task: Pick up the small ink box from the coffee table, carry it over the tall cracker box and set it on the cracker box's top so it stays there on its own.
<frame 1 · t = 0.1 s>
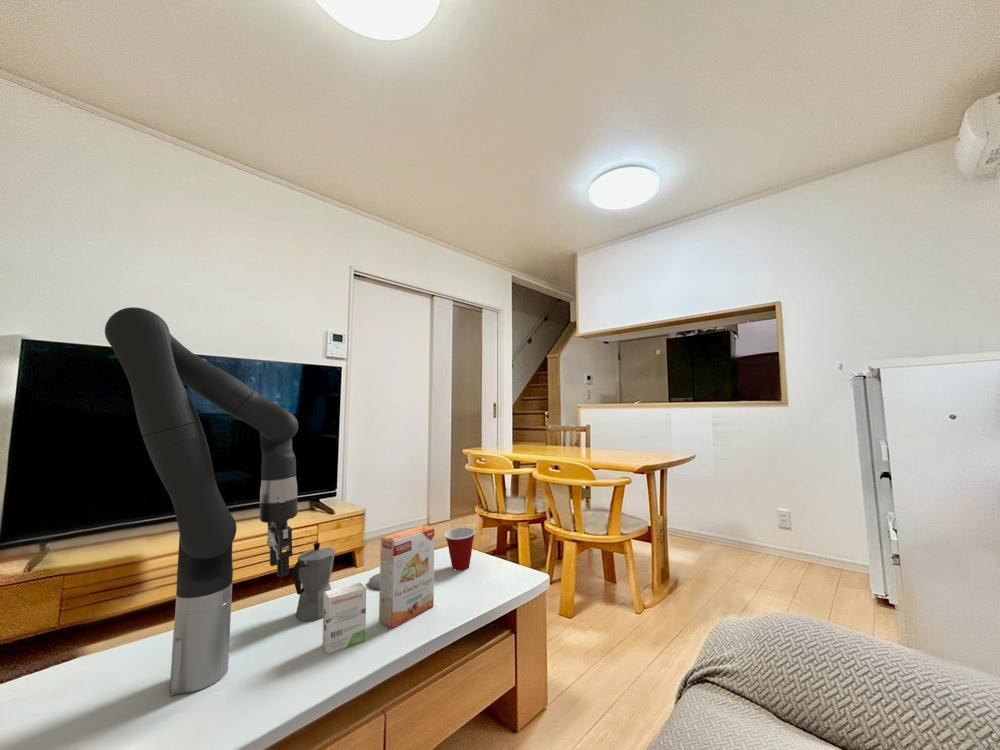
hand: (279, 570, 88), 17 cm above the table, tool pointing down, fingers open, 8 cm apart
cracker box: (407, 615, 102), on the table
coffeepot: (312, 615, 102), on the table
glossy grey dome: (388, 581, 122), on the table
plastic cup: (460, 568, 132), on the table
ink box: (344, 644, 89), on the table
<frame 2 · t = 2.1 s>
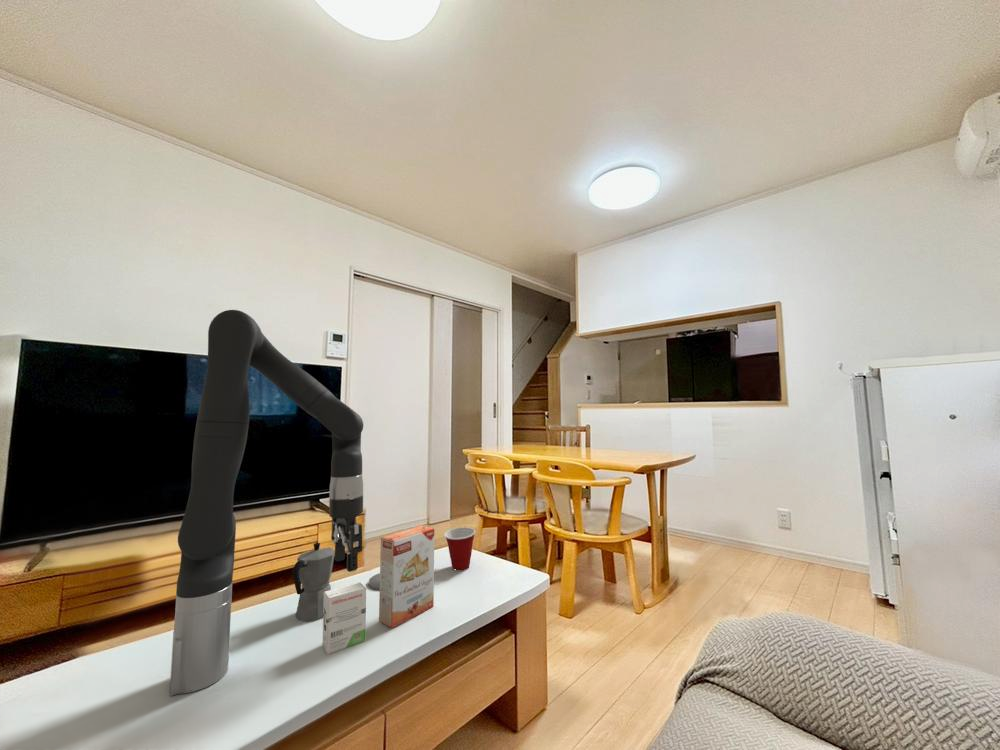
hand: (345, 565, 91), 17 cm above the table, tool pointing down, fingers open, 8 cm apart
nothing on the table moved.
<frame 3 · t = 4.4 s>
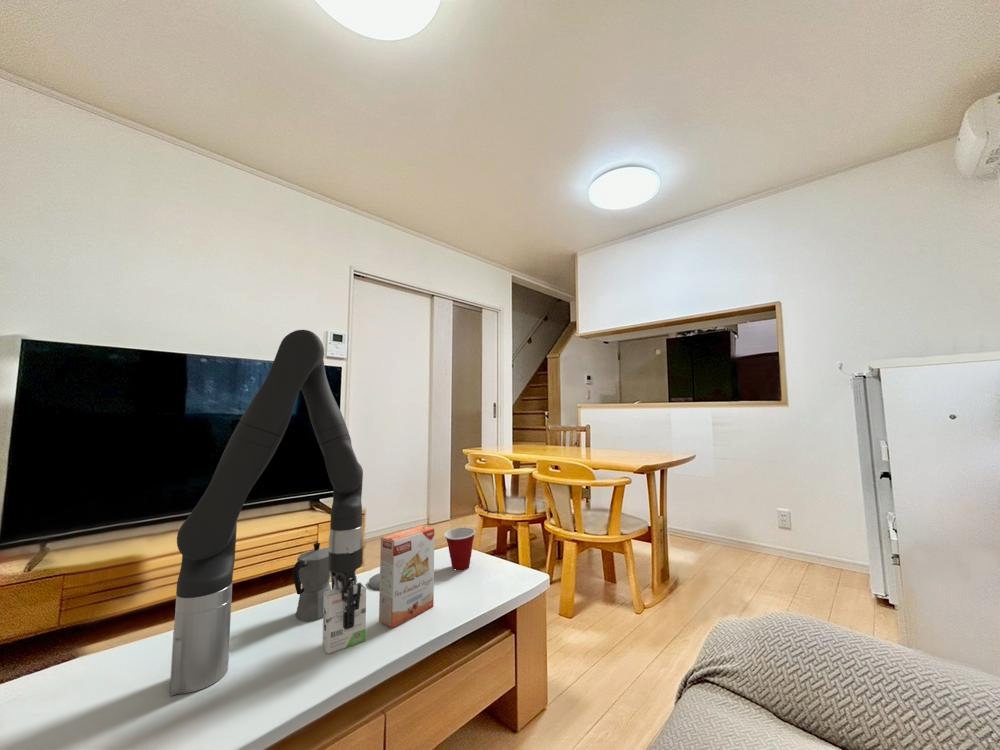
hand: (344, 622, 90), 4 cm above the table, tool pointing down, fingers closed on ink box, 5 cm apart
ink box: (343, 643, 89), on the table, touching gripper
everything else where it was.
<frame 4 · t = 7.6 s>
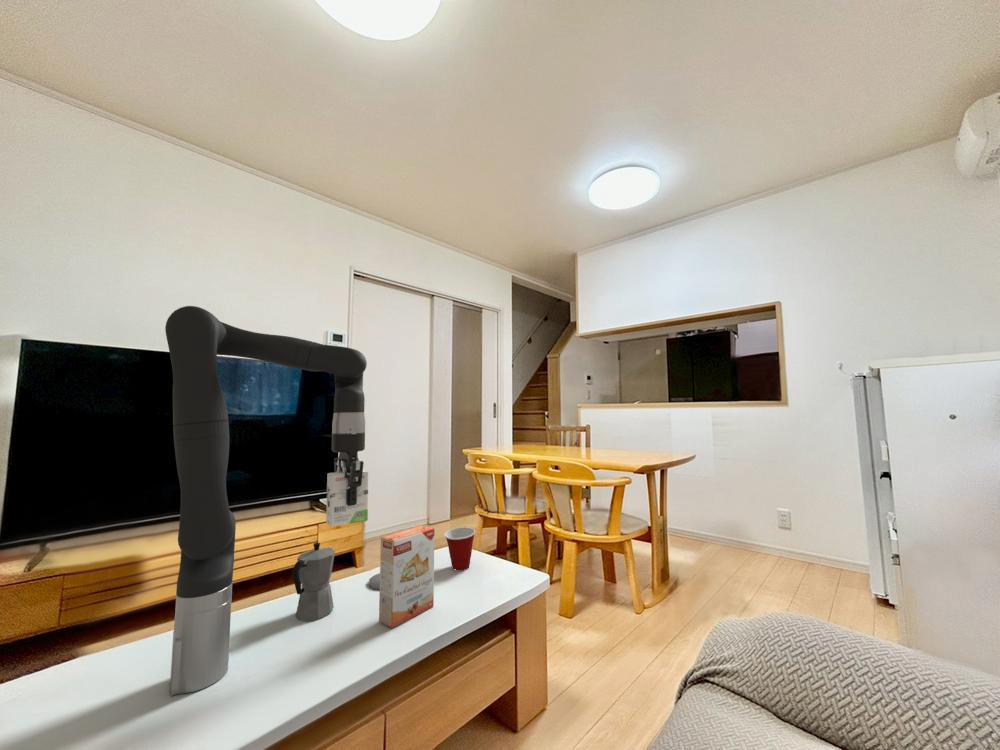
hand: (347, 502, 93), 31 cm above the table, tool pointing down, fingers closed on ink box, 5 cm apart
ink box: (346, 522, 92), point 27 cm above the table, touching gripper
everything else where it was.
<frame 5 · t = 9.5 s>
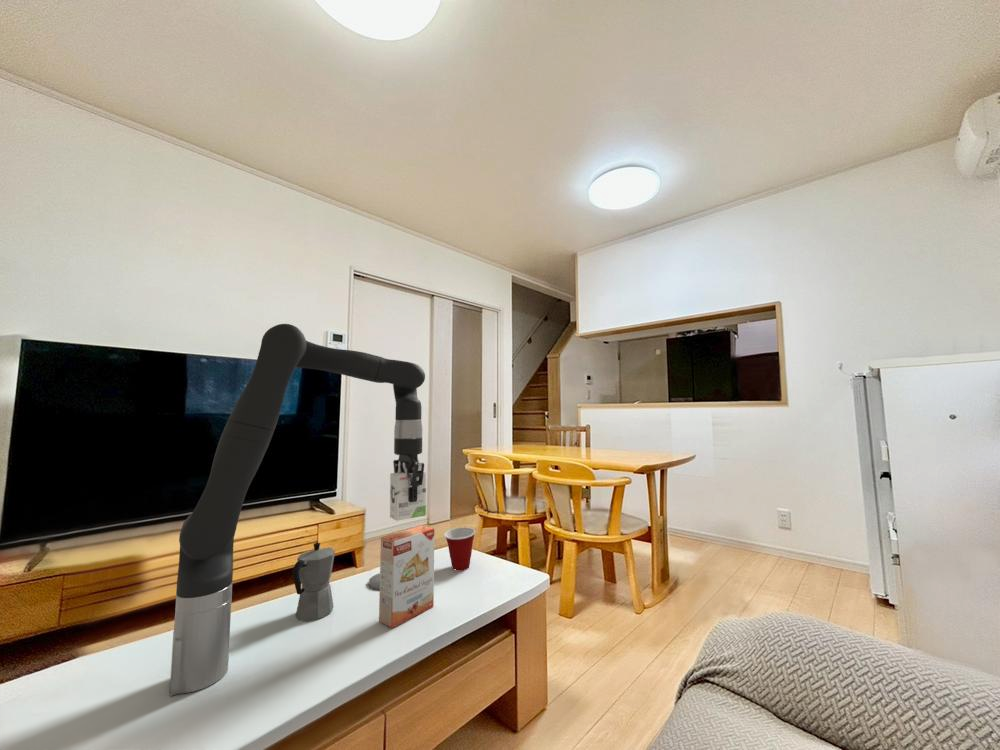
hand: (407, 499, 105), 29 cm above the table, tool pointing down, fingers closed on ink box, 5 cm apart
ink box: (407, 517, 104), point 25 cm above the table, touching gripper
everything else where it was.
when the fingers open (26 cm above the table, at t = 10.9 s): ink box stays where it is, resting on cracker box.
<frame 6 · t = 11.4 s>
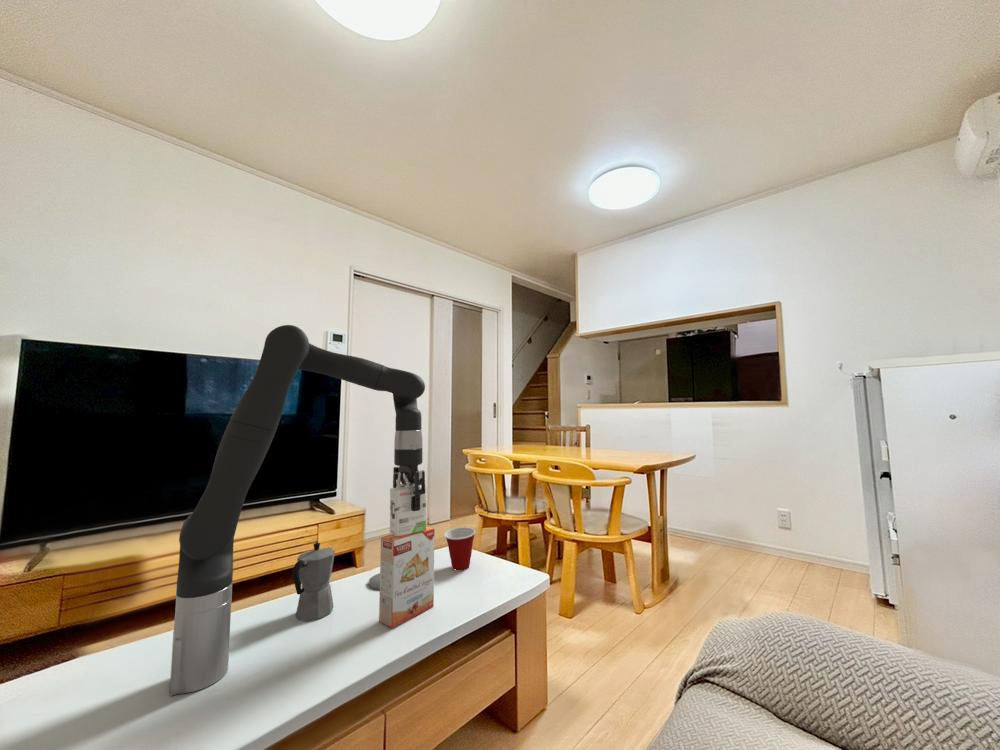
hand: (408, 507, 105), 27 cm above the table, tool pointing down, fingers open, 8 cm apart
cracker box: (407, 615, 102), on the table, touching ink box
ink box: (408, 532, 104), point 21 cm above the table, touching cracker box
everything else where it was.
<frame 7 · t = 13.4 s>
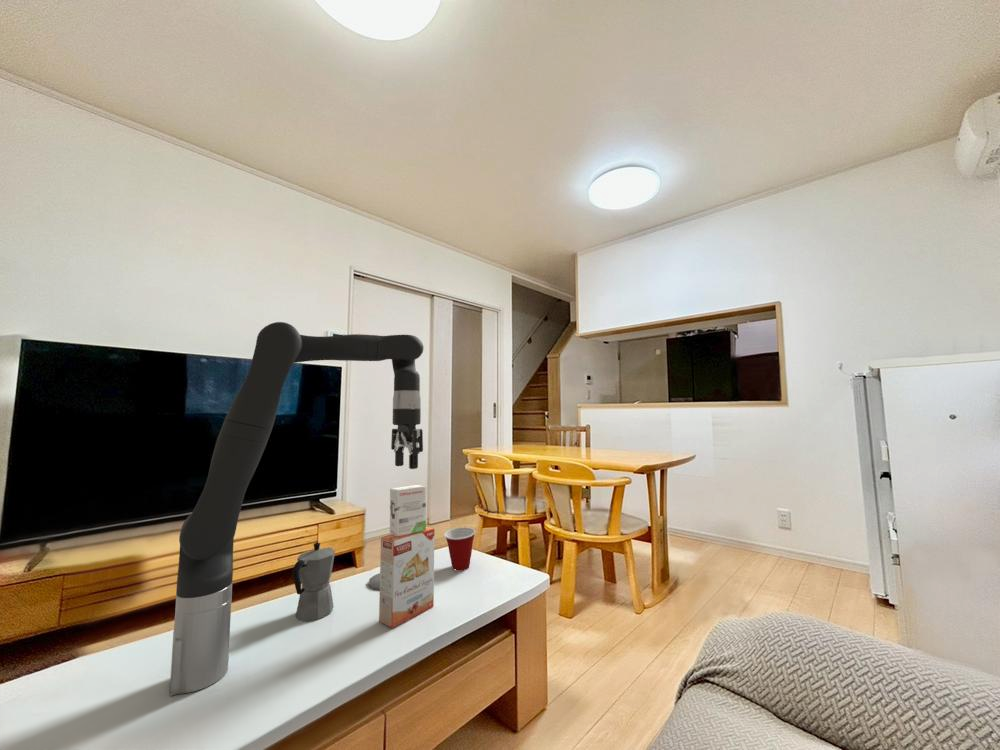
hand: (406, 467, 106), 38 cm above the table, tool pointing down, fingers open, 8 cm apart
nothing on the table moved.
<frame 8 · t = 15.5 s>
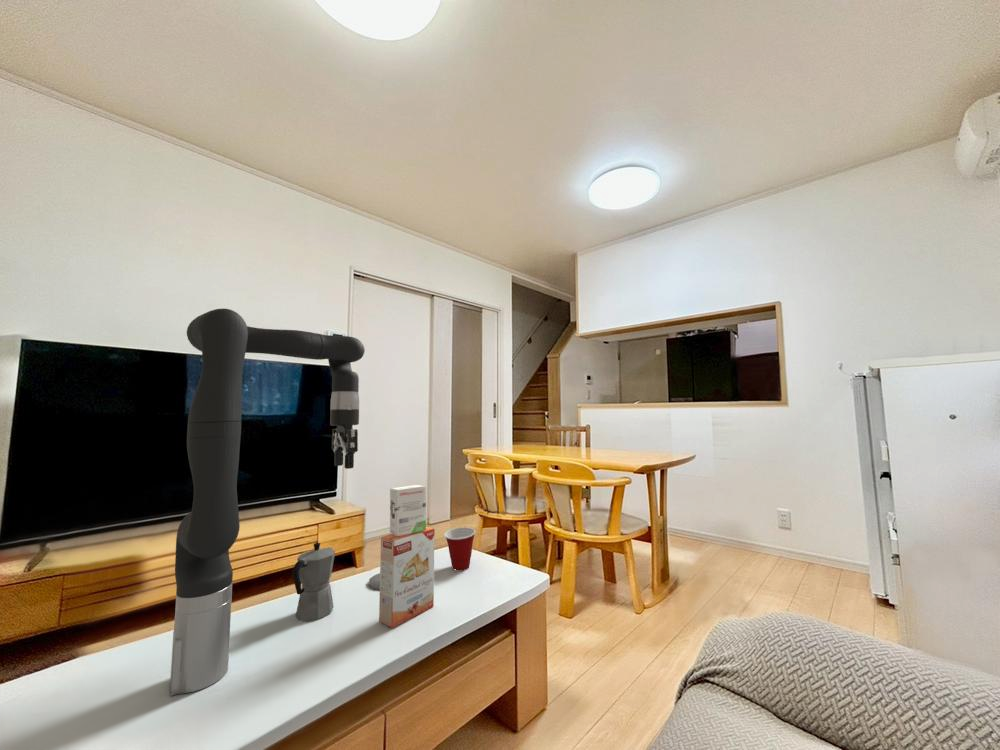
hand: (343, 467, 107), 38 cm above the table, tool pointing down, fingers open, 8 cm apart
nothing on the table moved.
at the end: ink box inside the target area on the cracker box (0.1 cm from its centre), point 20.9 cm above the cracker box's base; ink box tilted 0°; cracker box tilted 0° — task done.
